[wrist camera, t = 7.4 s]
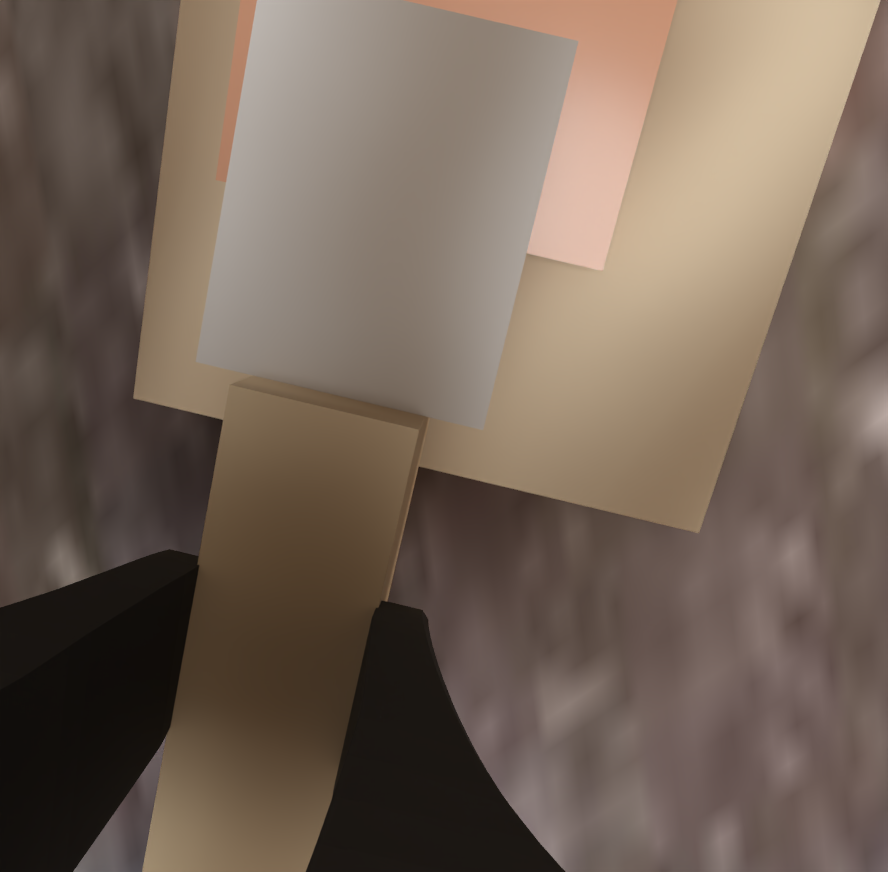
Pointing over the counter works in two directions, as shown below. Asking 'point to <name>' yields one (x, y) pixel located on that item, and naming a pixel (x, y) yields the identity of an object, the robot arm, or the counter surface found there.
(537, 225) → the tile
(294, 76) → the turner
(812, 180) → the cork mat
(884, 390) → the counter surface
